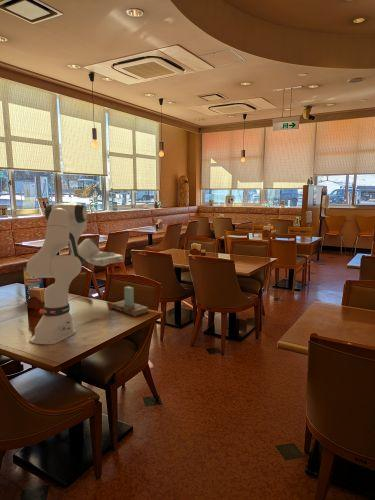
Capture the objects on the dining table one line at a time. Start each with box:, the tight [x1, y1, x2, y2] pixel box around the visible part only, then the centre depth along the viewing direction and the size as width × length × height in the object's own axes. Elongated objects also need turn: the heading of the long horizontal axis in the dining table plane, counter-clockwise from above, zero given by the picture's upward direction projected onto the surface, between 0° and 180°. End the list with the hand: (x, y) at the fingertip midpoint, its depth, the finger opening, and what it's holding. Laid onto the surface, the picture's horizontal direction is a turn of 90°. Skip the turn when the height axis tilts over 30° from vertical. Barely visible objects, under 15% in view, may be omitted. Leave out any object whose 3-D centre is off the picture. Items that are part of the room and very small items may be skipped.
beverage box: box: [23, 266, 44, 303], centre depth 233 cm, size 7×11×22 cm, turn 113°
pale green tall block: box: [123, 285, 135, 307], centre depth 214 cm, size 5×3×14 cm, turn 48°
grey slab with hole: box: [110, 299, 149, 317], centre depth 215 cm, size 22×10×3 cm, turn 47°
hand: (115, 261), depth 219 cm, fingers open, 8 cm apart
